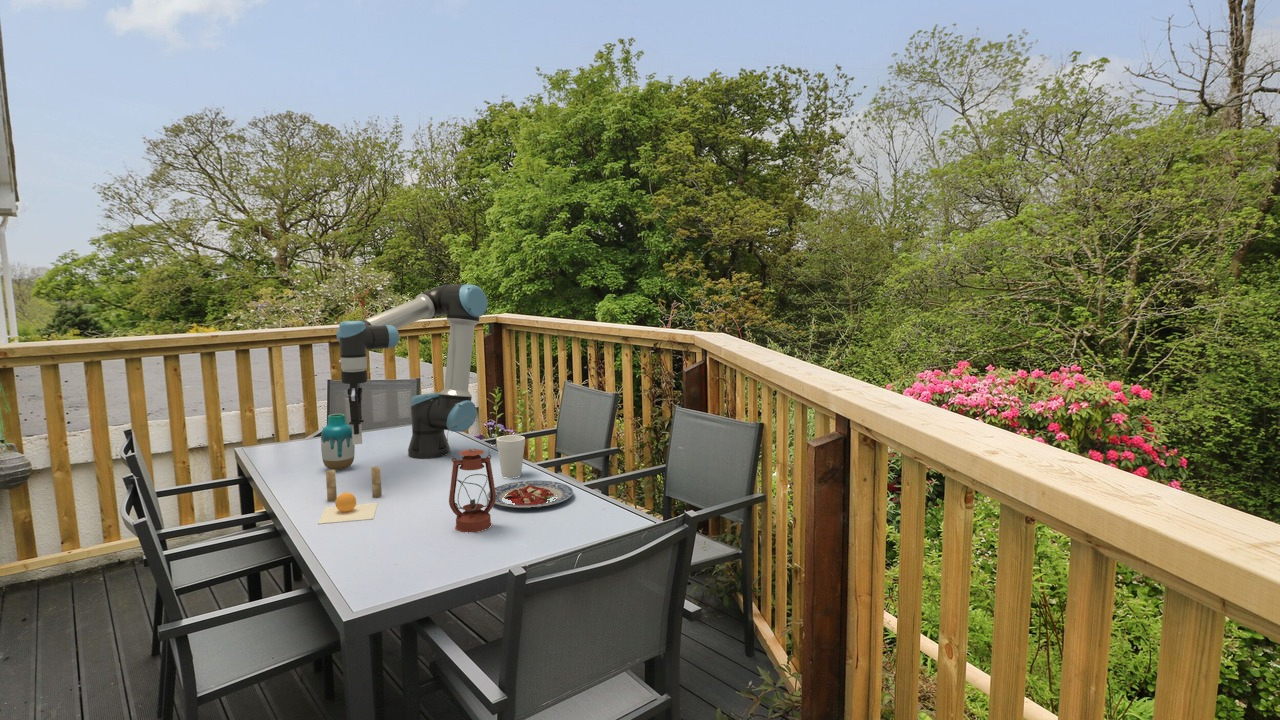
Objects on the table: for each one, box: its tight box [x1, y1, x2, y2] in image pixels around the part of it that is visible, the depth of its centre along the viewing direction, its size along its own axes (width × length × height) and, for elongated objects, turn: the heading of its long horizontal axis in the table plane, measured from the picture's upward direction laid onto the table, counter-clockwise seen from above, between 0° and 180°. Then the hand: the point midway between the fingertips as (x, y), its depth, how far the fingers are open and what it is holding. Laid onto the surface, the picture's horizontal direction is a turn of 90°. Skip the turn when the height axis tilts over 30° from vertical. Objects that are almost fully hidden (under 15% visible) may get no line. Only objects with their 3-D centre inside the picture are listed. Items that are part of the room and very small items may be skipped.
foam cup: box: [495, 434, 526, 479], centre depth 229 cm, size 10×9×13 cm
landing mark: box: [317, 502, 378, 525], centre depth 192 cm, size 14×14×1 cm
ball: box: [334, 492, 357, 512], centre depth 193 cm, size 6×6×6 cm
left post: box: [325, 469, 338, 502], centre depth 203 cm, size 3×3×9 cm
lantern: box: [446, 417, 496, 534], centre depth 181 cm, size 10×10×30 cm
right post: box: [370, 466, 382, 499], centre depth 207 cm, size 3×3×9 cm
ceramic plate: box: [486, 479, 574, 509], centre depth 206 cm, size 26×26×3 cm
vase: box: [320, 413, 356, 471], centre depth 237 cm, size 11×11×19 cm
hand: (357, 443), depth 216 cm, fingers closed
